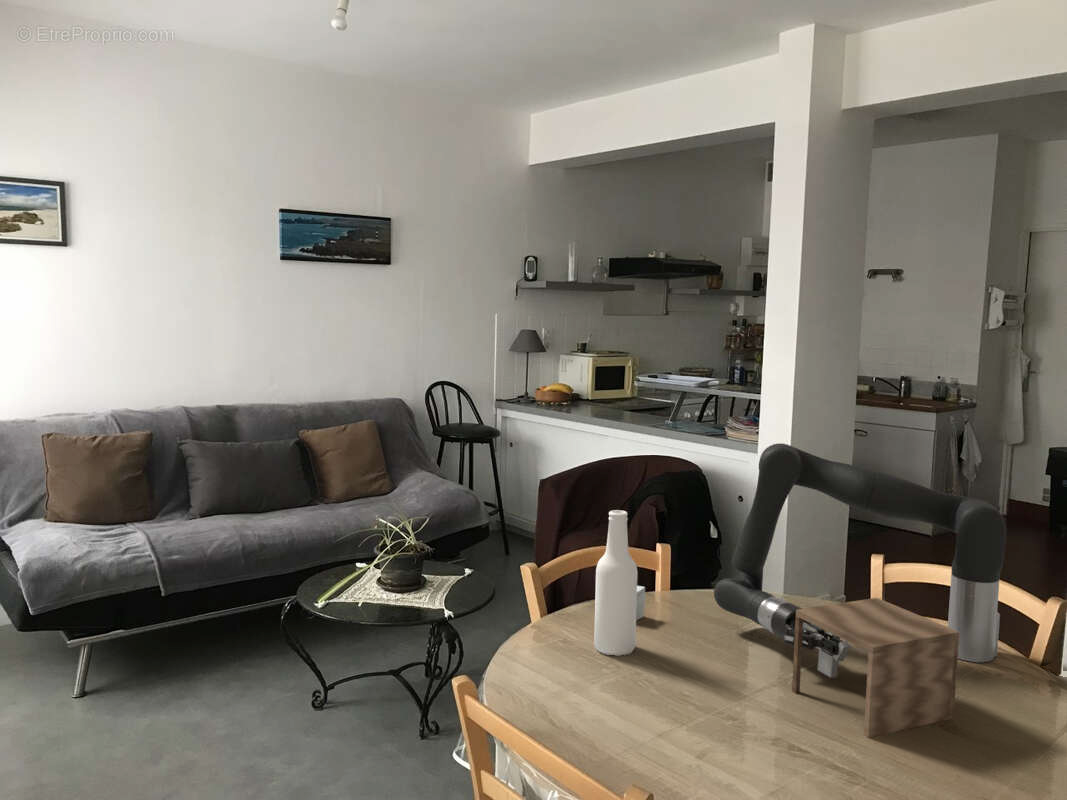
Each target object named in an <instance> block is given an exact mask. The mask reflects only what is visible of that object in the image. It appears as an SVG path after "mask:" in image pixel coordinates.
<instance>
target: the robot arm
mask: <svg viewBox="0 0 1067 800" xmlns="http://www.w3.org/2000/svg"><path fill="white" fill-rule="evenodd" d="M793 486H798V487H803V488H806V489H811V490H815V491H816V492H817V491H818V492H820V493H823V494H825V495H827V496H829V497H831V498H833V499H835V500H837V501H839V502H841V503H843V504H844V505H847V506H849V507H852V508H853V509H856V510H859V511H862V512H866V513H869V514H873V515H874V516H875V515H876V516H880V517H883V518H887V519H893V520H903V521H912V522H913V521H914V522H922V523H926V524H929V525H934V526H937V527H939V528H942V529H945V530H947V531H950V532H952V533H954V534H956V542H955V554H954V558H953V560H952V562H951V574H950V575H951V576H950V589H949V592H950V593H949V601H948V602H949V606H948V615H947V616H948V618H947V619H948V621H947V627H949V628H951V629H953V630H956V631H958V632H959V647H958V659H959V660H962V661H968V662H972V663H988V662H991V661H993V660H994V658H995V657H998V646H999V632H1000V619H1001V618H1000V617H1001V614H1000V613H999V612H998V607H999V606H998V604H999V593H1000V590H999V589H1000V576H1001V572H1002V569H1003V565H1004V560H1005V559H1004V558H1005V550H1006V549H1005V548H1006V540H1007V539H1006V538H1007V525H1006V521H1005V517H1004V516H1003V514H1001V513H1000V511H999V510H998V509H997V507H995V506H993V504H991V503H990V502H988V501H986V500H983V499H980V498H979V499H978V498H974V497H968V496H961V495H957V494H952V493H945V492H941V491H937V490H934V489H931V488H928V487H926V486H923V485H921V484H918V483H916V482H913V481H910V480H907V479H905V478H901V477H897V476H894V475H892V474H890V473H885V472H882V471H878V470H874V469H870V468H867V467H863V466H862V467H861V466H858V465H853V464H848V463H845V462H844V463H843V462H841V461H840V462H839V461H833V460H829V459H826V458H823V457H819V456H817V455H815V454H812V453H809V452H807V451H803V450H801V449H799V448H797V447H794V446H792V445H789V444H786V443H773V444H771V445H769V446H768V447H766V448H765V449H764V450H763V451H762V453H761V454H760V457H759V461H758V476H757V485H756V490H755V494H754V498H753V502H752V505H751V508H750V511H749V514H748V515H747V518H746V521H745V523H744V525H743V527H742V530H741V533H740V535H739V539H738V541H737V545H736V546H735V551H734V553H733V556H732V561H731V562H732V566H733V567H734V568H735V569H736V570H737V571H740V572H741V573H742V579H737V578H736V579H735V578H727V577H726V578H723V579H721V580H719V581H718V582H717V583H716V584H715V586H714V588H713V597H714V601H715V602H716V604H717V605H718V606H719V607H720V608H721V609H722V610H724V611H726V612H728V613H731V614H734V615H736V616H740V617H744V618H746V619H748V620H750V621H752V622H754V623H756V624H758V625H759V626H761V627H763V628H764V629H765V630H766V631H767V632H769V633H770V634H773V635H775V636H777V637H778V638H780V639H782V640H783V641H784V644H787V645H791V646H794V641H795V621H796V610H798V609H803V607H800V606H798V605H796V604H794V603H792V602H790V601H787V600H786V599H784V598H780V597H777V596H775V595H773V594H771V593H769V592H767V591H764V590H763V579H764V566H765V564H766V561H767V560H768V559H767V558H768V556H769V555H768V554H769V552H770V550H771V549H770V548H771V545H772V542H773V539H774V535H775V531H776V528H777V525H778V521H779V518H780V514H781V513H782V509H783V506H784V505H785V502H786V500H787V498H788V496H789V494H790V492H791V491H792V489H793V488H794V487H793ZM843 641H844V640H843V639H841V638H840V637H838V636H836V635H834V634H832V633H829V632H827V631H825V630H823V629H821V628H819V627H817V626H815V625H813V624H811V623H809V622H807V621H805V620H803V635H802V649H807V650H814V649H815V648H816V649H818V650H819V649H820V650H821V649H824V650H826V651H828V652H830V653H831V654H833V655H838V650H839V646H838V645H839V643H840V642H843Z"/></svg>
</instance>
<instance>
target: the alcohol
mask: <svg viewBox="0 0 1067 800" xmlns="http://www.w3.org/2000/svg"><path fill="white" fill-rule="evenodd" d="M628 514H629V513H628V512H627V511H625V510H621V509H620V510H619V509H615V510H613V509H612V510H609V512H608V516H609V517H608V528H607V529H608V530H607V539H606V547H605V552H604V554H603V555H602V557H601V558H599V560H598V561H597V565H596V569H595V594H594V595H595V599H594V601H595V602H594V632H593V633H594V637H593V640H594V641H593V643H594V647H595V649H596V651H597V650H598V651H599V653H600V652H601V653H600V654H602V653H603V654H602V655H605V654H606V656H609V655H615V656H614V657H621V655H624V656H627V655H626V654H628V655H630V654H632V653H633V651H634V649H636V637H637V635H636V634H637V633H636V632H637V621H636V606H637V586H638V568H637V563H636V561H635V560H634V559H633V558H632V556H631V555H630V552H629V551H630V550H629V542H628V541H629V540H628V539H629V537H628V520H629V518H628ZM598 651H597V652H598Z"/></svg>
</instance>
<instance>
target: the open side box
mask: <svg viewBox="0 0 1067 800" xmlns="http://www.w3.org/2000/svg"><path fill="white" fill-rule="evenodd" d="M803 620H805V621H807V622H809V623H811V624H813V625H815V626H817V627H819V628H821V629H823V630H825V631H827V632H829V633H832V634H834V635H836V636H838V637H840V639H841V640H843V641H847V642H848V643H849V644H852V645H854V646H856V647H858V648H860V649H862V650H865V651H866V652H868V655H867V657H868V658H867V674H866V690H865V706H864V707H865V709H864V723H863V724H864V725H863V726H864V727H863V736H864V737H865V738H873V737H877V736H882V735H886V734H890V733H895V732H899V731H905V730H909V729H913V728H919V727H921V726H926V725H931V724H934V723H939V722H944V721H948V720H953V719H954V718H955V716H954V715H955V702H956V701H955V700H956V690H957V688H956V686H957V673H958V661H959V660H958V647H959V632H958V631H956V630H953V629H951V628H949V627H948V626H946V625H944V624H941V623H939V622H936V621H934V620H931V619H929V618H927V617H924V616H922V615H919V614H917V613H914V612H912V611H910V610H907V609H905V608H902V607H900V606H898V605H895V604H892V603H890V602H888V601H886V600H883V599H882V598H879V597H874V598H873V597H872V598H867V599H860V600H853V601H852V600H851V601H846V602H841V603H840V602H839V603H832V604H831V603H830V604H826V605H820V606H813V607H811V606H810V607H806V608H805V607H804V608H802V609H798V610H796V621H795V641H794V645H793V665H792V666H793V667H792V683H791V684H792V685H791V687H792V688H791V692H792V693H794V694H799V693H801V692H800V691H801V672H802V671H801V670H802V656H803V655H802V654H803V653H802V651H803V647H802V635H803Z"/></svg>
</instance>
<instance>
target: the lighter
mask: <svg viewBox="0 0 1067 800" xmlns="http://www.w3.org/2000/svg"><path fill="white" fill-rule="evenodd" d="M842 641H843V642H840V643H839V645H838V646H839V650H838V655H833V654H831V653H830V652H828V651H826V650H824V649H821V650H820V649H818V658H817V659H818V661H817V671H819V672H820V673H822V674H824V675H825V676H826V677H829V678H831V679H832V678H833V679H834V678H837V677H838V671H839V662H840V663H841V662H843V661H845V659H846V657H847V655H848V653H849V651H850V649H851V647H852V646H851V645H850V643H849V642H848V641H846V640H842Z"/></svg>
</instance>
